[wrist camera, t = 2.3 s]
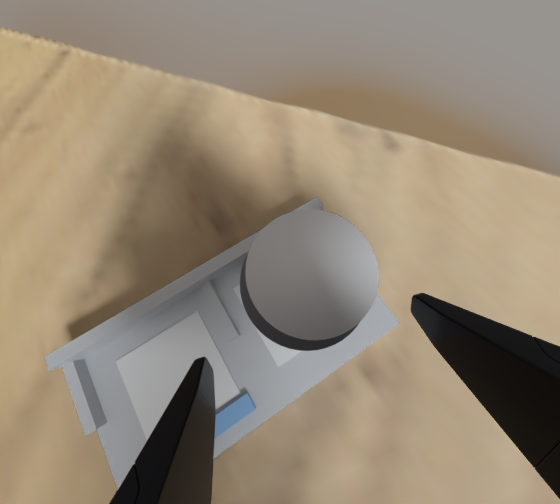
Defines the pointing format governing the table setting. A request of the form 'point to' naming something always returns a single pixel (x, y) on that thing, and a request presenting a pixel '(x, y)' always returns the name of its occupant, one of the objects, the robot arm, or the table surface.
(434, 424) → the table surface
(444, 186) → the table surface
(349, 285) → the grey upright cylinder
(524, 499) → the table surface
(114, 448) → the white tray
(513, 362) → the robot arm
